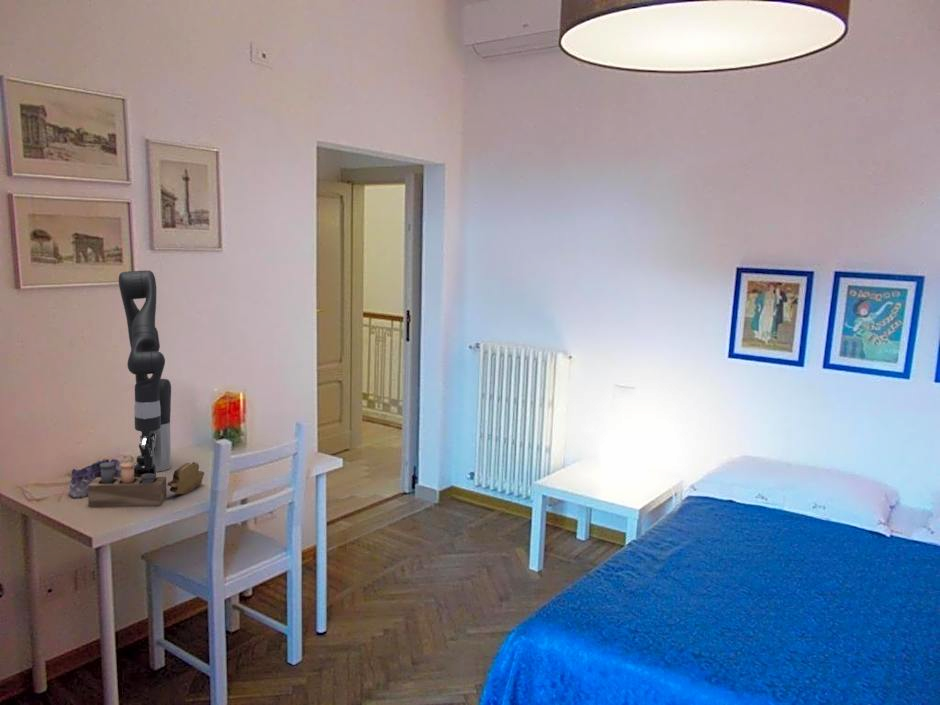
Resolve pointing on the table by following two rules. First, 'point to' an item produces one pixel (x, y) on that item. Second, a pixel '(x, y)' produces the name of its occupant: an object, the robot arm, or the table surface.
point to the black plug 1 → (107, 473)
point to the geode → (88, 478)
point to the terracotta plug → (127, 472)
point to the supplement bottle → (143, 467)
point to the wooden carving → (186, 478)
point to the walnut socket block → (127, 493)
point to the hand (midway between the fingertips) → (148, 467)
